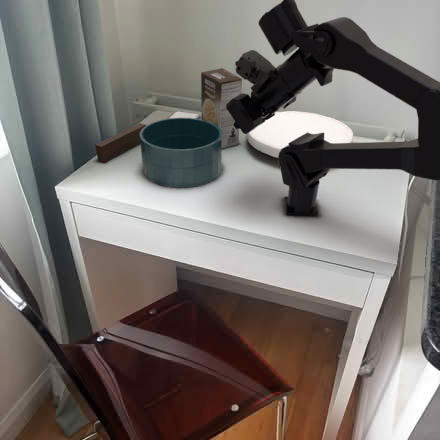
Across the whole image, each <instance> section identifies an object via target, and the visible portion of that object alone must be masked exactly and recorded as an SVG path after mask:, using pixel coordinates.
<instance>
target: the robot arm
mask: <svg viewBox="0 0 440 440" xmlns="http://www.w3.org/2000/svg"><path fill="white" fill-rule="evenodd" d="M257 22H258V26H259V28H260V29H261V31H262V33H263V35H264V37H265V38H266V40H267V42H268V44H269V45H270V47H271V49H272V51H273V53H274V54H275V55H277V56H278V55H280V54H282V56H283V57H286V56H288V55H290V54H291V53H292V54H291V55H290V56H289V57H288V58H287V59H285V60H284V61H283V62H282V63H280V64H278V65H277V66H276V67H275V65H273V63H272V62H271V61H270V60H268V59H267V58H266V57H265V56H263V54H261V53H260V52H258V51H257V50H254V49H250V50H247V51H246V52H244V53H242V54H241V56H240V57H239V59H238V60H236V61H235V63H234V64H235V73H236V74H237V76H238V75H239V77H240V78H242V80H245V81H248V82H249V83H251V84H252V85H251V87H250V89H251V91H250V95H249V94H248V93H244V92H241V94H240V95H238V96H236V97H234V98H232V99H231V100H230V101H229V102H228V103H227V104H226V109H227V110H228V112H229V113H230V115H231V116H232V118H233V119H234V121H235V123H234V124H233V125H234V127H235V128H236V129H239V130H240V131H241V132H242V134H244V135H246V134H248V133H249V132H251V131H252V130H254V129H255V128H256V127H258V126H259V125H261V124H262V123H264V122H265V120H268V119H270V118H271V117H273V116H274V115H275V112H279V111H281V110H282V109H283V110H286V109H287V108H289V107H290V106H291V105H292V104H293V103H296V101H297V97H298V96H299V95H300V94H301V93H303V91H304V90H305V89H306V88H308V86H310V85H311V84H312V83H314V82H315V81H317V83H318V84H319V86H320V87H324V86H326V85H328V84H332V82H333V78H334V77H333V76H334V75H333V73H334V70H339V71H340V70H341V71H346V72H351V73H353V74H356V75H357V76H360V77H361V78H363V79H365V80H367V81H368V82H370V84H371V83H372V84H374V85H375V86H376V87H378V88H380V89H381V90H383V91H385V92H387V93H388V94H390V95H391V96H393V97H394V98H396V99H398V100H399V101H402V102H403V103H405V104H406V105H408V106H410V107H411V108H413V109H415V110H416V116H417V138H414V139H412V140H411V139H410V140H407V141H404V140H403V141H375V142H373V141H371V142H370V141H369V142H352V143H329V142H327V141H325V140H324V133H318V134H310V133H308V132H307V133H306V134H304V135H302V136H300V137H299V138H297V139H295V140H293V141H291V142H290V143H289V145H287V146H286V147H284V148H282V149H281V151H280V152H279V156H278V158H277V161H278V165H279V168H280V173H281V178H282V183H283V185H285V186H287V187H288V193H287V196H284V198H283V201H284V203H283V204H284V212H285V214H286V215H287V216H310V217H311V216H312V217H317V216H319V208H318V204H317V198H318V192H319V187H320V180H321V179H323V178H325V177H326V176H327V175H328V173H329V171H330V170H395V171H397V170H398V171H403V172H405V173H407V174H409V175H410V176H413V177H416V178H421V179H425V180H430V181H440V81H438V80H436V79H435V78H433V77H431V76H430V75H428V74H426V73H425V72H422V71H421V70H419V69H417V68H415V67H414V66H412V65H410V64H409V63H407V62H405V61H404V60H402V59H400V58H398V57H397V56H394V55H393V54H392V53H390V52H388V51H386V50H384V49H383V48H381V47H379V46H378V45H377V44H375V43H374V42H373V41H372V40H371V38H370V37H369V35H368V33H367V32H366V31H365V30H364V29H363V28H362V27H361V26H359V24H357V23H356V22H355V21H354V20H353V19H351V18H349V17H346V16H341V17H337V18H334V19H331V20H327V21H325V22H321V23H320V24H319V23H315V24H312V25H308V24H307V22H306V20H305V19H304V17H303V15H302V14H301V12H300V10H299V8H298V4H297V3H296V0H282V1H281V2H280V3H278V4H277V5H275V6H273V7H272V8H271V9H270V10H268V11H266V12H265V13H264V14H263V15H262V16H261V17H260V18H259V20H258V21H257Z"/></svg>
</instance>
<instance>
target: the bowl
mask: <svg viewBox="0 0 440 440" xmlns="http://www.w3.org/2000/svg"><path fill="white" fill-rule="evenodd" d="M167 118H168V119H167ZM167 118H162V119H159V120H156V121H151V122H150V123H148V124H145V125H146V126H145V127H144V128H143V129H141V132H140V144H139V145H140V153H141V162H142V163H141V164H142V169H143V174H144V176H145V178H146V179H148V180H149V181H151V182H152V183H154V184H157V185H161V186H163V187H169V188H176V189H177V188H179V189H180V188H181V189H182V188H185V189H186V188H195V187H200V186H204V185H207V184H209V183H210V182H213V181H214V180H216V179H217V178H218V177H219V176H220V175H221V172H222V162H223V161H222V160H223V159H222V158H223V157H222V156H223V154H222V153H223V148H222V131H221V129H220V128H219V127H218V126H216V125H215V124H213V123H211V122H208V121H205V120H201V118H198V119H195V118H169V117H167Z"/></svg>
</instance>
